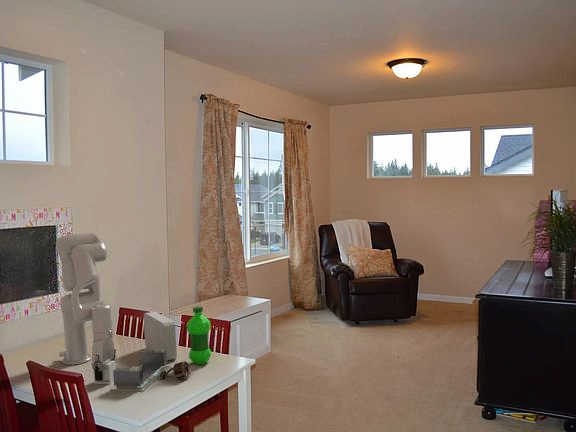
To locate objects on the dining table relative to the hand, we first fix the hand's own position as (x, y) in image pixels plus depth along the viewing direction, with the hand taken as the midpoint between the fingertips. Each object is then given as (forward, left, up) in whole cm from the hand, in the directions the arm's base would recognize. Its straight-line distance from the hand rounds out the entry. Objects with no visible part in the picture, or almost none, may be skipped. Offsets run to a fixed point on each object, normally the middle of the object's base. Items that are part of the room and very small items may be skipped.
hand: (105, 375), depth 219 cm
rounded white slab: (+8, +36, -3) cm, 37 cm away
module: (0, 0, -2) cm, 2 cm away
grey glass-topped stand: (+14, +5, -2) cm, 15 cm away
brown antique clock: (+28, +7, -3) cm, 29 cm away
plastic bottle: (+32, +25, -2) cm, 41 cm away
